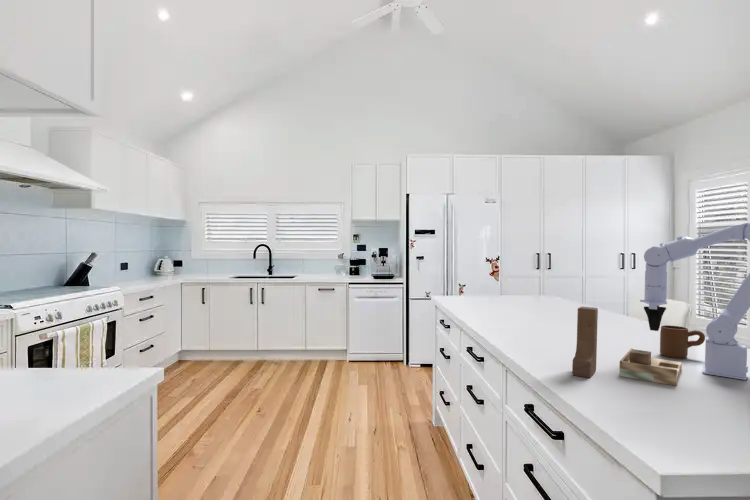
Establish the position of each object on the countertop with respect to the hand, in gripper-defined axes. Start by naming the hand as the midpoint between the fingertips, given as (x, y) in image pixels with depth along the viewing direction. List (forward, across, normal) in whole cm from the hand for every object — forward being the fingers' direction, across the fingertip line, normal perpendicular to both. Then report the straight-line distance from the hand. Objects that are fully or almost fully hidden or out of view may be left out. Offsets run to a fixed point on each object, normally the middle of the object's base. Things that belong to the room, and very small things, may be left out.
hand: (654, 330), depth 138 cm
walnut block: (+8, +19, -2) cm, 21 cm away
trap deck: (+10, +13, +1) cm, 17 cm away
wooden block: (+10, +27, -14) cm, 32 cm away
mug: (+10, -14, +7) cm, 19 cm away
